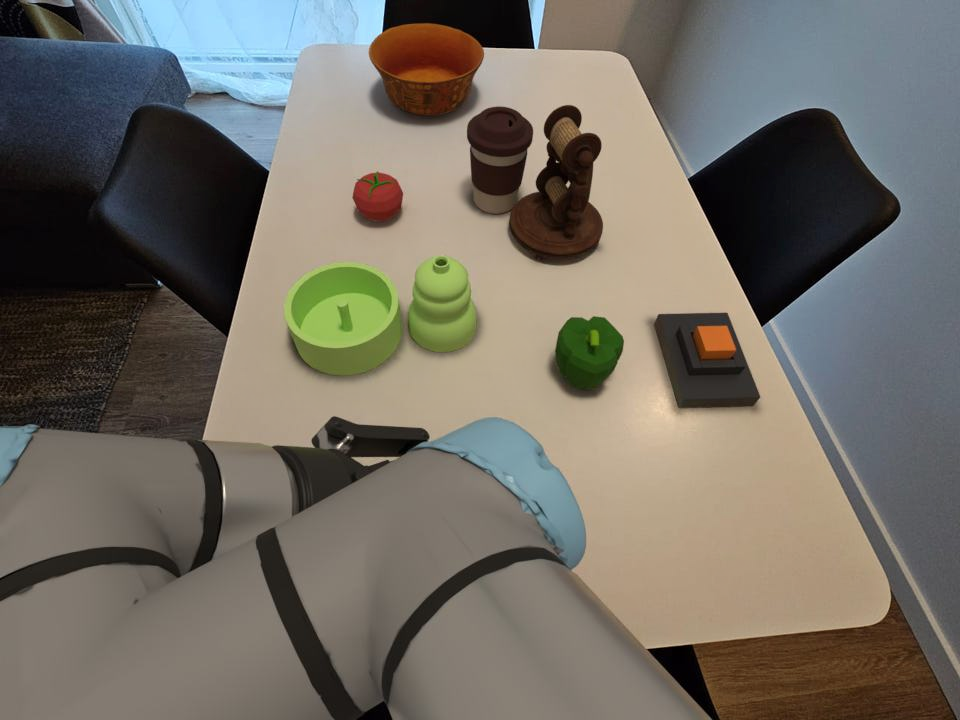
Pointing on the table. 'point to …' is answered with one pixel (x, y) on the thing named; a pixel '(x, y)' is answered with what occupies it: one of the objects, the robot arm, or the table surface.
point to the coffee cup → (498, 157)
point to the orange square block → (714, 342)
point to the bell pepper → (588, 351)
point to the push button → (703, 364)
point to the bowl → (426, 66)
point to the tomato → (377, 196)
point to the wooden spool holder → (561, 193)
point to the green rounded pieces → (377, 314)
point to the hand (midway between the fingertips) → (502, 504)
